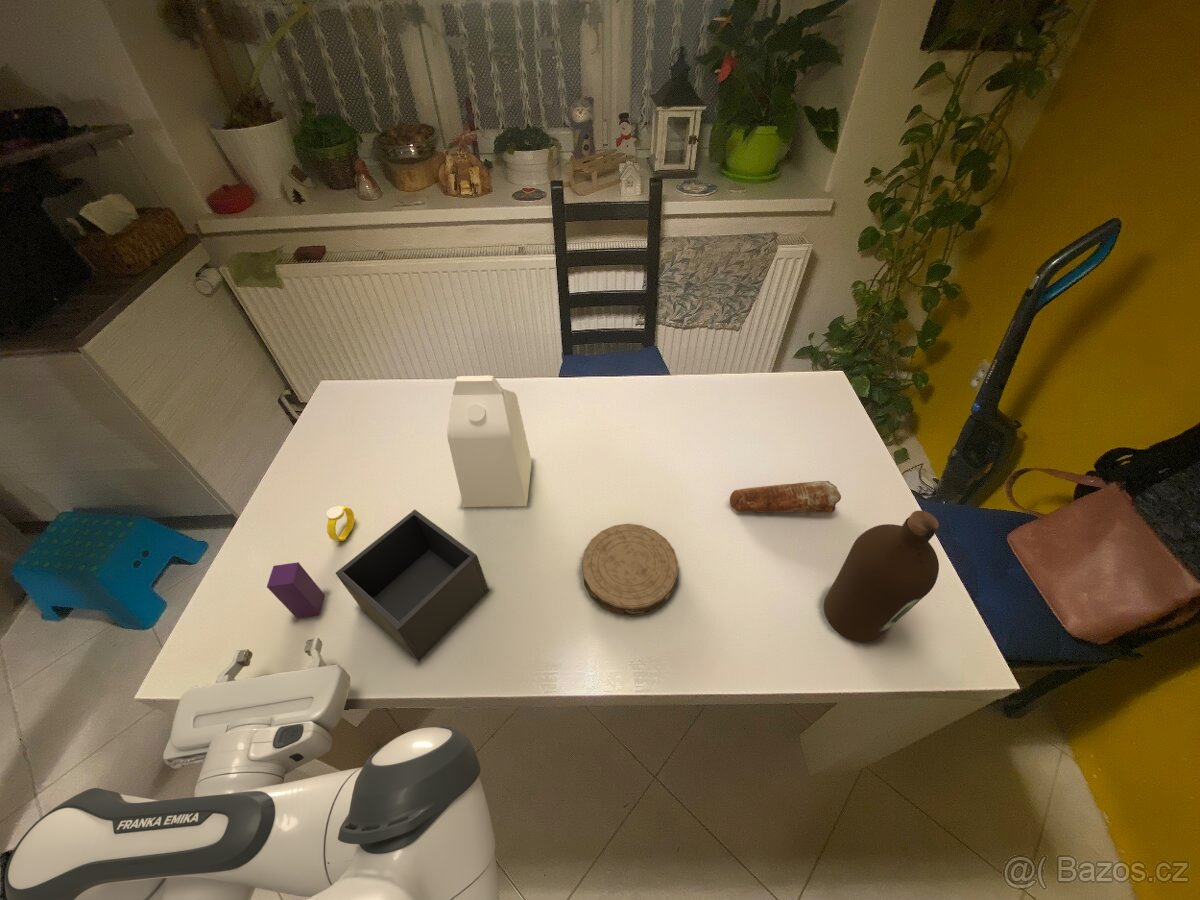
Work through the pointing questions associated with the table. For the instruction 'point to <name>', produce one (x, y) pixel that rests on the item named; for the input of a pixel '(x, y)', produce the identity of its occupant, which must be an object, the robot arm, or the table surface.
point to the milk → (488, 444)
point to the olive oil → (883, 578)
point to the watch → (334, 515)
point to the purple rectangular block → (296, 590)
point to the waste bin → (415, 582)
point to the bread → (787, 498)
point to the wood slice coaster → (629, 569)
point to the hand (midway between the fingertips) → (280, 646)
